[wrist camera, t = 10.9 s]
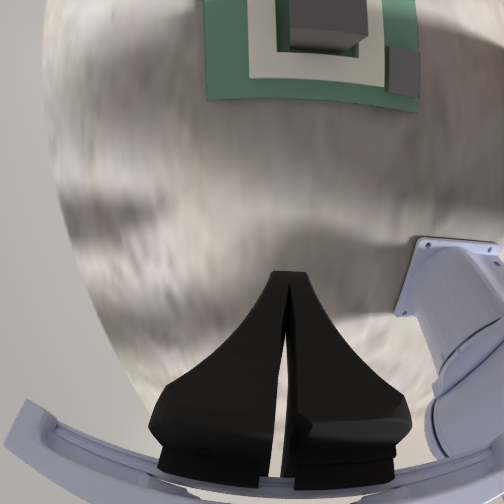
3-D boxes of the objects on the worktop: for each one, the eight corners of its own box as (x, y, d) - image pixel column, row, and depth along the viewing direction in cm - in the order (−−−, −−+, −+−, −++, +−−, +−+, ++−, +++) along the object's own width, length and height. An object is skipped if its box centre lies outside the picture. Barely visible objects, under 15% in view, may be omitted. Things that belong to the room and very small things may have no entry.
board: (405, -29, 9) (416, -38, 7) (412, 112, 15) (424, 115, 13) (207, -42, 10) (198, -53, 9) (210, 100, 16) (201, 101, 14)
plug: (338, -16, 10) (359, -56, 5) (341, 53, 13) (368, 36, 8) (287, -20, 11) (286, -64, 6) (289, 49, 13) (291, 27, 8)
